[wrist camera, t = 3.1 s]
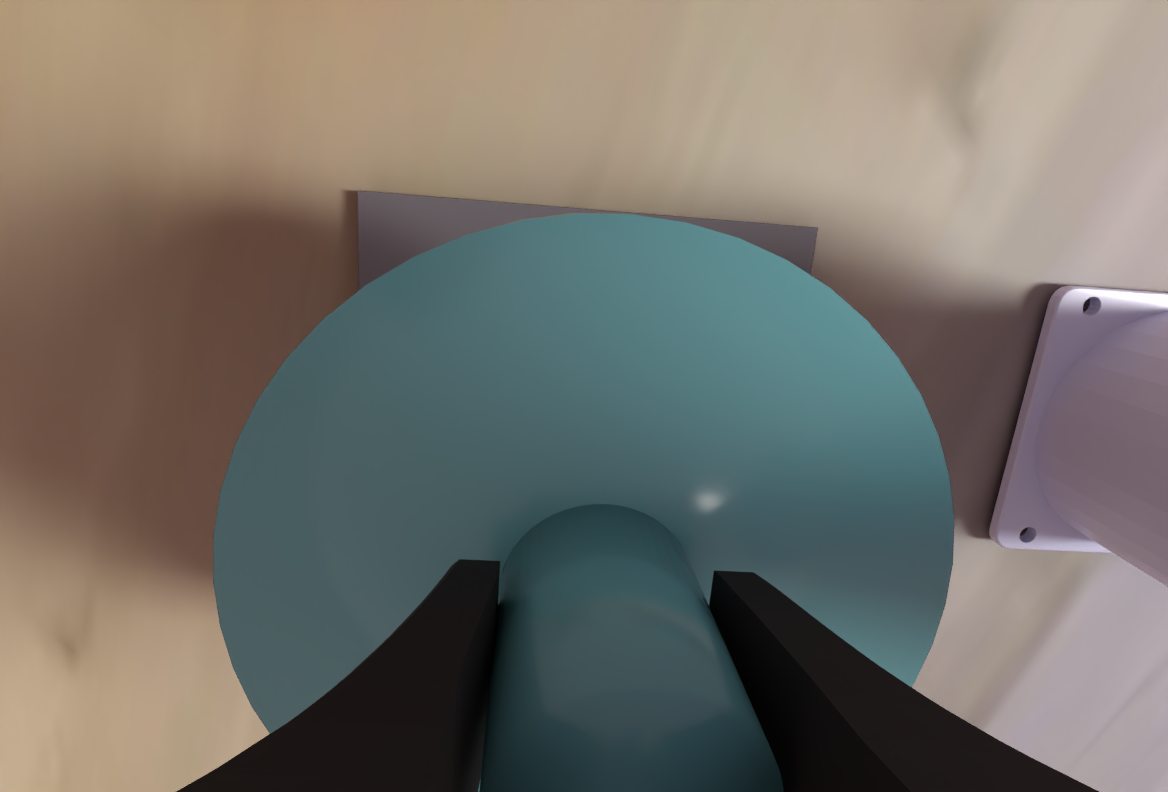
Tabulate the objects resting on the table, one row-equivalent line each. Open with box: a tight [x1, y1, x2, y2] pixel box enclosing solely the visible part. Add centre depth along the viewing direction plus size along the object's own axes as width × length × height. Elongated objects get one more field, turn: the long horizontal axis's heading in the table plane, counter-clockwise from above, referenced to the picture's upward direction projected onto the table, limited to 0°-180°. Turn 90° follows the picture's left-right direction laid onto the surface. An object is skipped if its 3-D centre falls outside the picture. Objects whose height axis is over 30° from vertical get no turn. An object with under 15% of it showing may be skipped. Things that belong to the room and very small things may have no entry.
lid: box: [213, 213, 954, 792], centre depth 9 cm, size 12×12×5 cm
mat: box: [358, 191, 818, 290], centre depth 19 cm, size 12×12×1 cm
